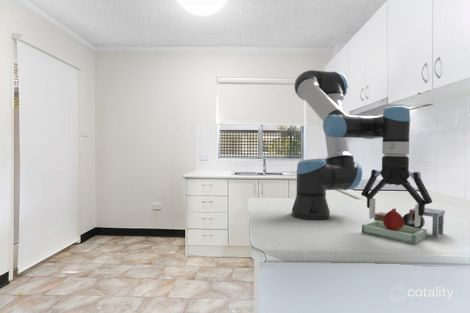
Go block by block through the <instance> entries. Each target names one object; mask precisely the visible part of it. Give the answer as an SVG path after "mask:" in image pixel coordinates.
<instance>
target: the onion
mask: <svg viewBox="0 0 470 313" xmlns="http://www.w3.org/2000/svg"><path fill="white" fill-rule="evenodd" d="M386 213H387V214H386V215H385V216H384V219H383V224H384V226H385V227H386V228H387V229H388V230H393V231H399V230H400V229H402V228H403V226H404V219H403V215H401V213H399V212H397V208H392V209H391V210H389V211H387V212H386Z"/></svg>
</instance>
